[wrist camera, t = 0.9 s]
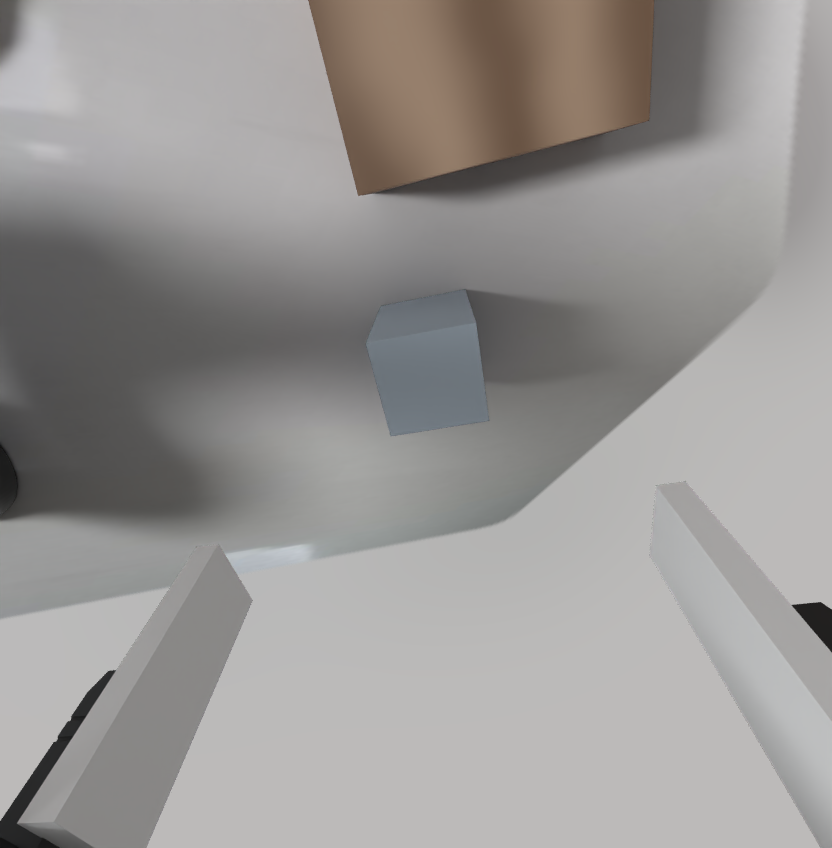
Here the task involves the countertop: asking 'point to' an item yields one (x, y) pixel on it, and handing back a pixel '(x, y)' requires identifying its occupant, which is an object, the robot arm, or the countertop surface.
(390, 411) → the slate block
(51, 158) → the countertop surface
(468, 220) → the countertop surface
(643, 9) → the walnut block
